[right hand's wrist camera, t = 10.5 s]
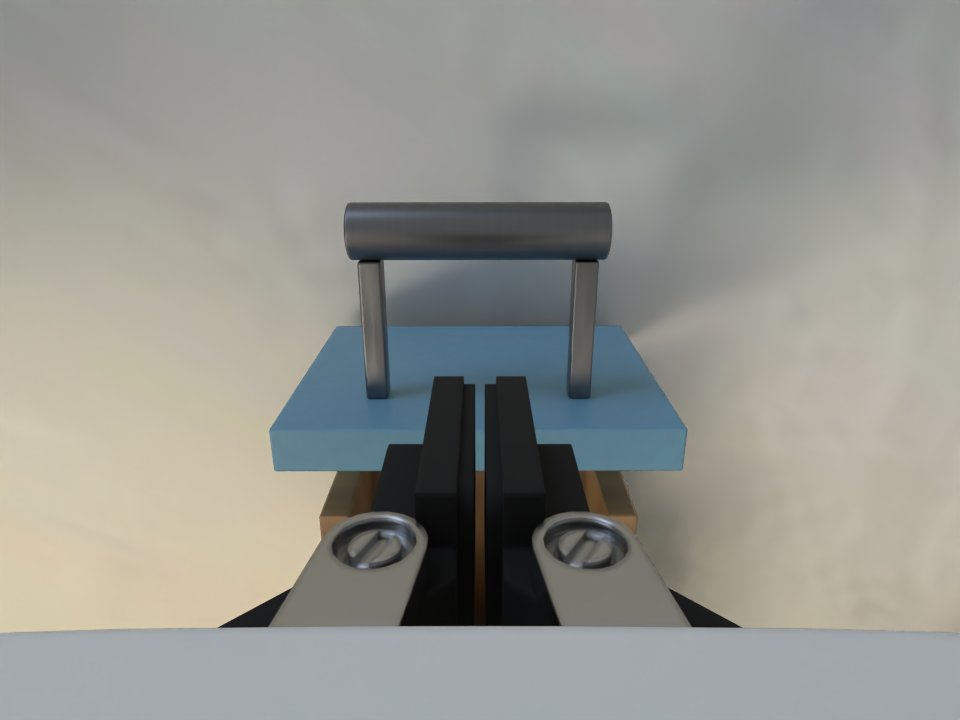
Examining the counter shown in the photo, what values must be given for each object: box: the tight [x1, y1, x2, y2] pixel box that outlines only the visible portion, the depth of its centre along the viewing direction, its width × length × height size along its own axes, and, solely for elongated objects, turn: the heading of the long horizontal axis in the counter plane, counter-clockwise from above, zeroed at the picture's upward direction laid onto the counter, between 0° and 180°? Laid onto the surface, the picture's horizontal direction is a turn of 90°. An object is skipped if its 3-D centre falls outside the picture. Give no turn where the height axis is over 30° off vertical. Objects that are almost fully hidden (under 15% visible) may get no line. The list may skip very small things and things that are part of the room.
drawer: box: [269, 202, 687, 626], centre depth 23 cm, size 25×10×8 cm, turn 0°
